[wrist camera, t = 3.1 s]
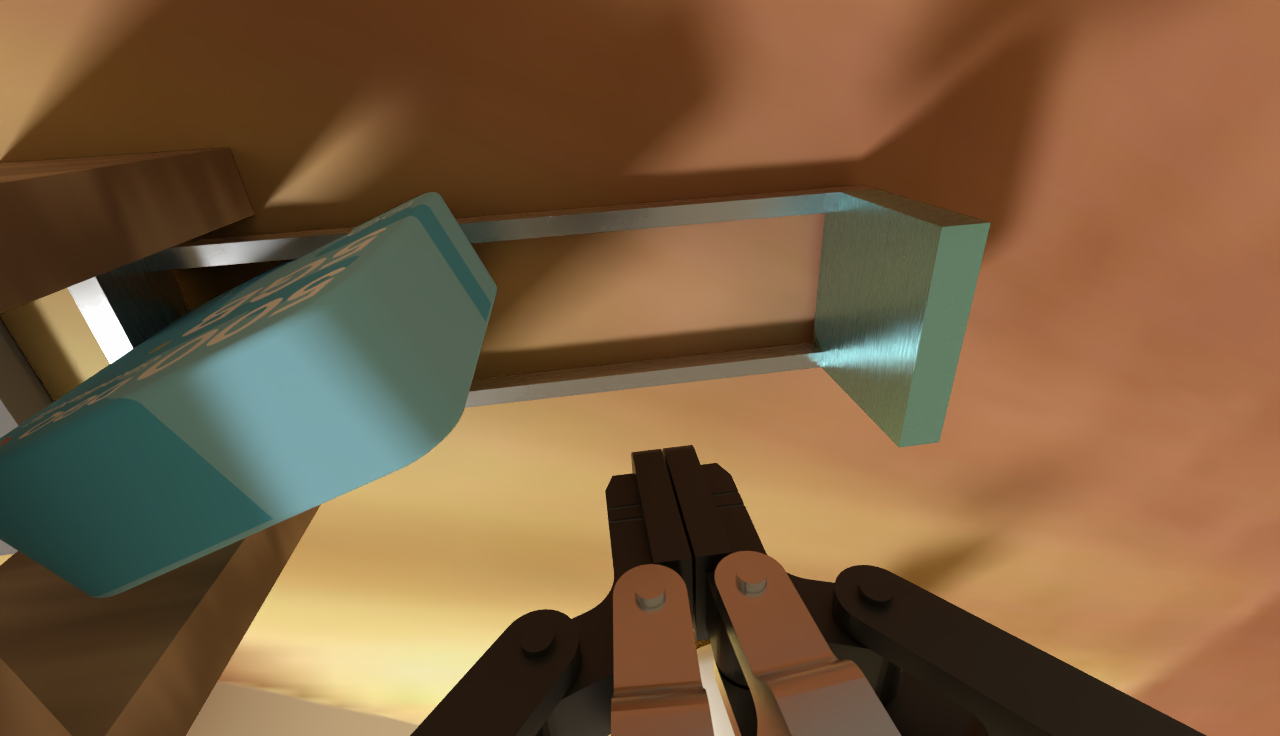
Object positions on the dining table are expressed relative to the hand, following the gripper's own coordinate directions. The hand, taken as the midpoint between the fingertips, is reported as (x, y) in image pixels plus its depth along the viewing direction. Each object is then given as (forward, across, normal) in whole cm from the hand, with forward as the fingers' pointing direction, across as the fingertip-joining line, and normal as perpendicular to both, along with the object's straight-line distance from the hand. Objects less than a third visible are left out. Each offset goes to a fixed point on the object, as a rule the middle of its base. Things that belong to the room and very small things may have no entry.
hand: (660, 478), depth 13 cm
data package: (+13, +11, -2) cm, 17 cm away
